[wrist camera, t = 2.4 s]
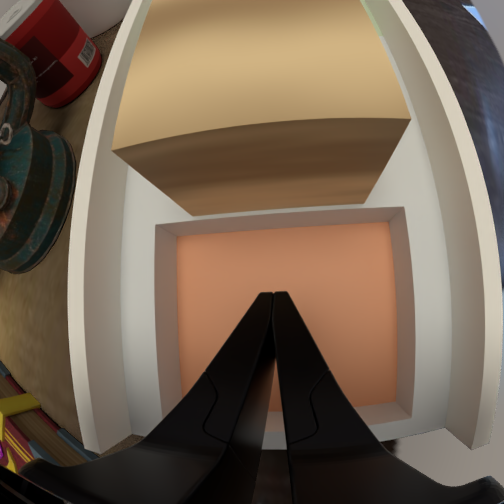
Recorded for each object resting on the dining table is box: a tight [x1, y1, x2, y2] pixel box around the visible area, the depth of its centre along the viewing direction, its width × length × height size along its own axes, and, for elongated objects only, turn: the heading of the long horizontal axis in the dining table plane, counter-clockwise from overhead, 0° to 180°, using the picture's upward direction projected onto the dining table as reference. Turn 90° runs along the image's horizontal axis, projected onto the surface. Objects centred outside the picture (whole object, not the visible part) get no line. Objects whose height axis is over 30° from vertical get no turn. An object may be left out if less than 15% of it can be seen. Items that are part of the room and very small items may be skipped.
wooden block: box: [111, 0, 411, 217], centre depth 11 cm, size 12×8×7 cm, turn 2°
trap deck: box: [68, 0, 503, 454], centre depth 15 cm, size 40×18×6 cm, turn 2°
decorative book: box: [0, 361, 99, 500], centre depth 15 cm, size 11×16×5 cm
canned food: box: [0, 0, 101, 108], centre depth 17 cm, size 8×8×11 cm
